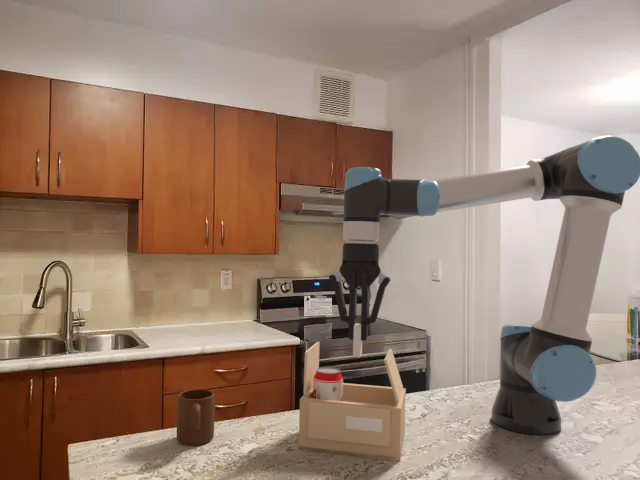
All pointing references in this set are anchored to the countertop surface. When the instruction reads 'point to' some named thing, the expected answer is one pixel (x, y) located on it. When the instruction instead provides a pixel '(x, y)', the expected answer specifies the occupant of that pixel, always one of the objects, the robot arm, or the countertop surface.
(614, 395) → the countertop surface
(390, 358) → the flap near
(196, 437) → the mug
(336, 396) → the beer can
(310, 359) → the flap far
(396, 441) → the carton
